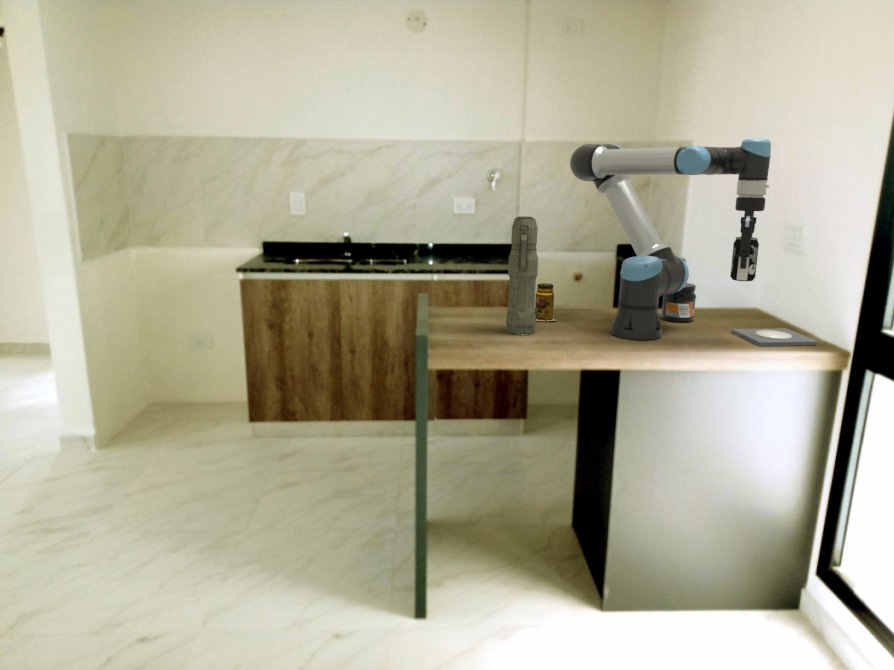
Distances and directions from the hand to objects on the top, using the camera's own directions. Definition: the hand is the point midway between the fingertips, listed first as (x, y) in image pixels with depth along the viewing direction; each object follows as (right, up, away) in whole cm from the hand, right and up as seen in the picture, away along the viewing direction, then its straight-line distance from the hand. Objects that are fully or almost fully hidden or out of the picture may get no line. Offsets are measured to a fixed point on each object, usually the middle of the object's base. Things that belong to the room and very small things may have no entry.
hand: (742, 278), depth 195 cm
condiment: (-53, -11, +32) cm, 62 cm away
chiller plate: (+14, -18, +10) cm, 24 cm away
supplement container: (-7, -11, +34) cm, 37 cm away
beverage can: (0, -1, 0) cm, 1 cm away
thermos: (-62, -16, +14) cm, 66 cm away
